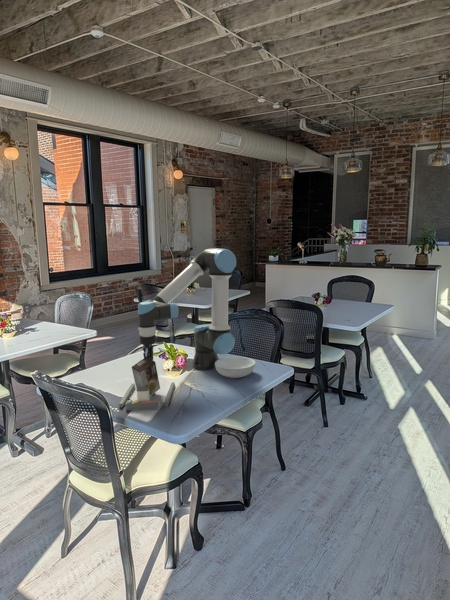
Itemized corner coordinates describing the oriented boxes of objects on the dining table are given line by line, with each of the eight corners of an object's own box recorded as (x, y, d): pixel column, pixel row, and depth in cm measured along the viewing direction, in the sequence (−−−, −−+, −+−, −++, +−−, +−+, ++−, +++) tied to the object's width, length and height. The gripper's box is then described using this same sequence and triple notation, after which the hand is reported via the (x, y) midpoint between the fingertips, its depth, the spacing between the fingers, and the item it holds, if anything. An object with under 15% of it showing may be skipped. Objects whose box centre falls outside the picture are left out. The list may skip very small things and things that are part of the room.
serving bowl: (262, 378, 221) (262, 364, 220) (224, 385, 213) (223, 371, 212) (245, 366, 240) (245, 354, 239) (209, 372, 232) (208, 359, 231)
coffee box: (151, 383, 209) (146, 356, 201) (160, 388, 205) (155, 361, 197) (136, 394, 203) (130, 366, 195) (146, 399, 199) (140, 371, 191)
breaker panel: (174, 386, 214) (174, 378, 213) (166, 409, 188) (165, 400, 187) (132, 387, 214) (131, 380, 214) (117, 410, 188) (117, 402, 188)
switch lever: (150, 403, 194) (149, 386, 193) (148, 406, 190) (147, 389, 189) (139, 403, 194) (138, 386, 193) (137, 407, 190) (136, 389, 189)
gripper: (142, 331, 211) (145, 378, 216) (136, 338, 199) (139, 388, 203) (157, 331, 211) (160, 378, 215) (153, 338, 198) (155, 387, 203)
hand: (150, 382), depth 209 cm, fingers closed
